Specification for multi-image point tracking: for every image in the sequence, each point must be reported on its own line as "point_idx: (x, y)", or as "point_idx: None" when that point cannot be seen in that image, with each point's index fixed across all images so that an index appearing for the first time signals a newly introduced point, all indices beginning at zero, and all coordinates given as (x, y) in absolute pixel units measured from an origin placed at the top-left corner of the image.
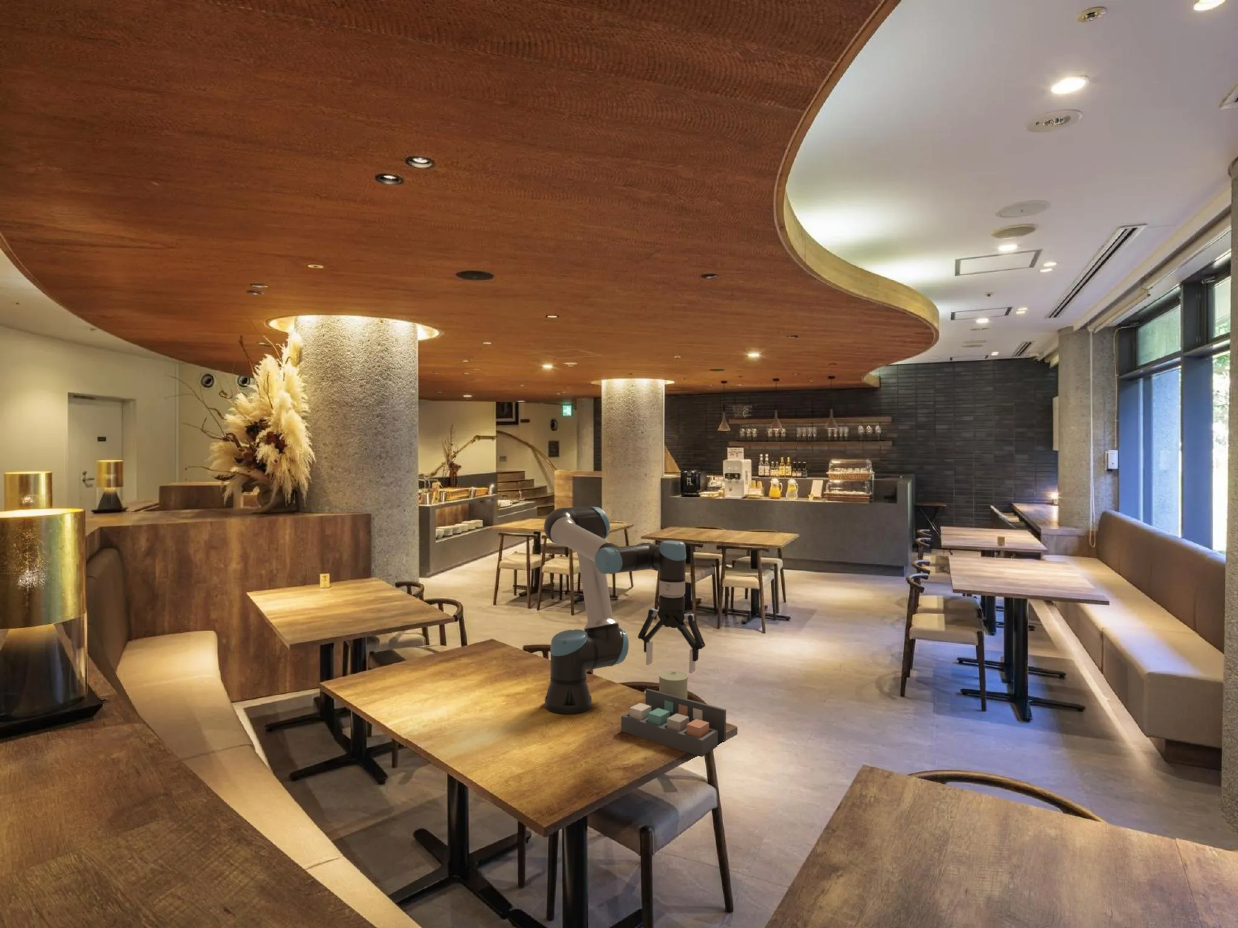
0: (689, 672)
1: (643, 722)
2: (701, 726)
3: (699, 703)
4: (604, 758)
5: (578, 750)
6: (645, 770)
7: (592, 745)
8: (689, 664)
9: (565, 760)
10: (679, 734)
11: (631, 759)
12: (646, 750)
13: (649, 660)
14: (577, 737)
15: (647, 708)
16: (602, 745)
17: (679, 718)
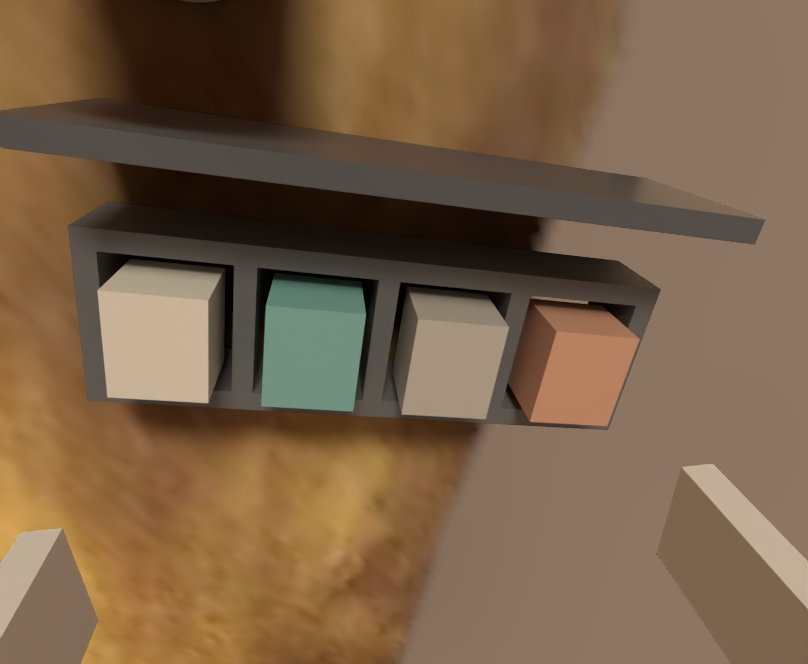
0: (662, 554)
1: (257, 408)
2: (610, 404)
3: (561, 212)
4: (249, 574)
5: (120, 580)
6: (423, 563)
7: (130, 528)
8: (723, 647)
9: (145, 644)
10: (486, 420)
11: (338, 534)
12: (348, 453)
13: (67, 651)
14: (13, 508)
15: (208, 341)
16: (164, 508)
17: (465, 376)
